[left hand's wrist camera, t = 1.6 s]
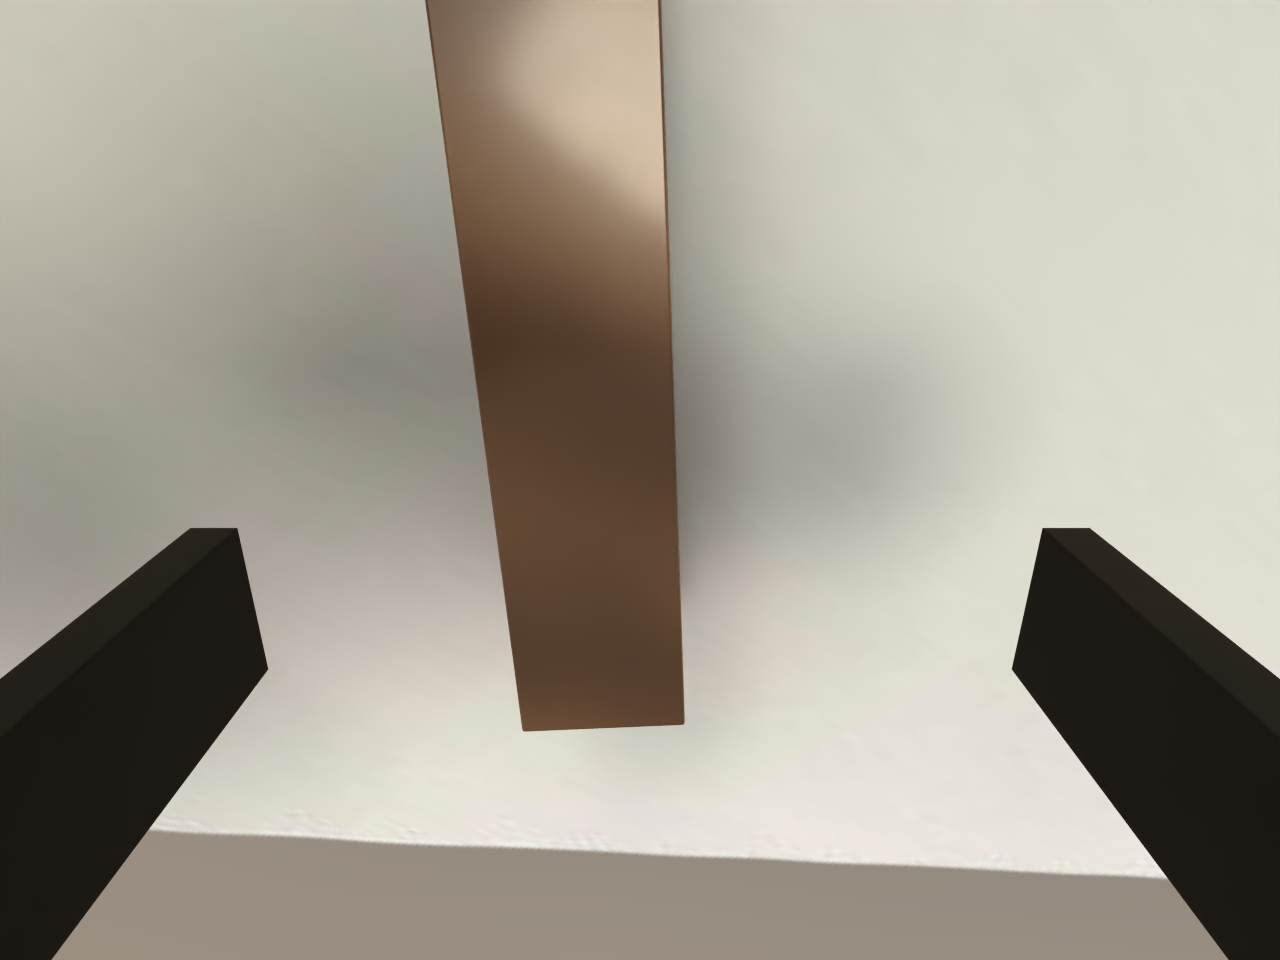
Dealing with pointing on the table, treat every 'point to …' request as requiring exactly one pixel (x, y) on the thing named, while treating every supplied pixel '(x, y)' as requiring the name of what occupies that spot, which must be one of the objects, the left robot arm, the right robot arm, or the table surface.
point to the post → (571, 341)
